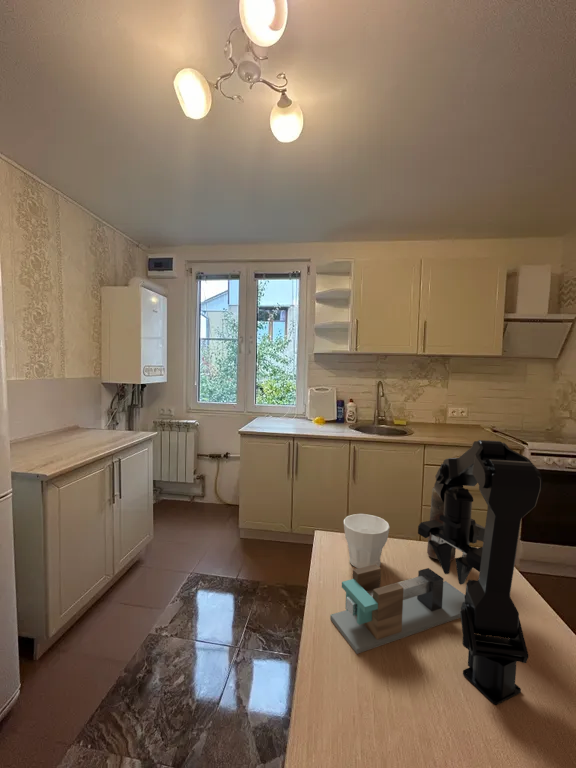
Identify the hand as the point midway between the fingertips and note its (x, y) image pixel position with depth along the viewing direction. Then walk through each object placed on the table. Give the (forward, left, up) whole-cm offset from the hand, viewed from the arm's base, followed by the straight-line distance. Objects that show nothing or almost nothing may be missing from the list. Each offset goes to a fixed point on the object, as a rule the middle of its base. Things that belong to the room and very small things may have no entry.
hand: (453, 578), depth 84 cm
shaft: (0, +7, -5) cm, 9 cm away
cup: (+21, +10, -5) cm, 24 cm away
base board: (0, +13, -5) cm, 14 cm away
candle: (+15, -12, -5) cm, 20 cm away
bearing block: (0, +22, -5) cm, 23 cm away
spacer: (0, +26, -2) cm, 27 cm away
